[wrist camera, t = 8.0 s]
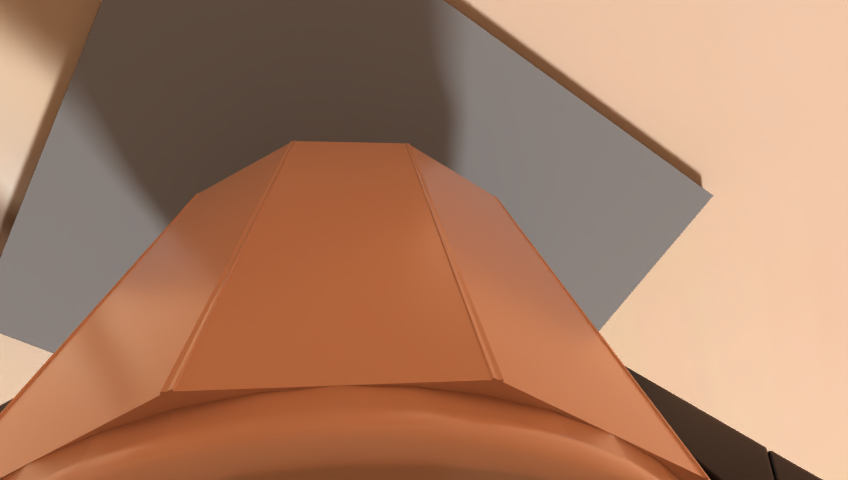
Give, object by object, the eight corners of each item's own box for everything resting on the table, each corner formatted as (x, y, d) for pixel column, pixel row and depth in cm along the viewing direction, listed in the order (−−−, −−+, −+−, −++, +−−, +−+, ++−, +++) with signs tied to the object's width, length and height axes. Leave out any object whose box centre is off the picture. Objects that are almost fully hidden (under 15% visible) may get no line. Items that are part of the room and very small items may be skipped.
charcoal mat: (-16, 314, 13) (-26, 323, 12) (185, -185, 10) (179, -193, 9) (451, 492, 17) (453, 502, 17) (703, 190, 14) (712, 195, 13)
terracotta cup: (97, 386, 10) (-335, 1004, 4) (265, 55, 8) (-52, 203, 2) (410, 499, 12) (464, 1011, 6) (602, 260, 10) (985, 649, 4)
